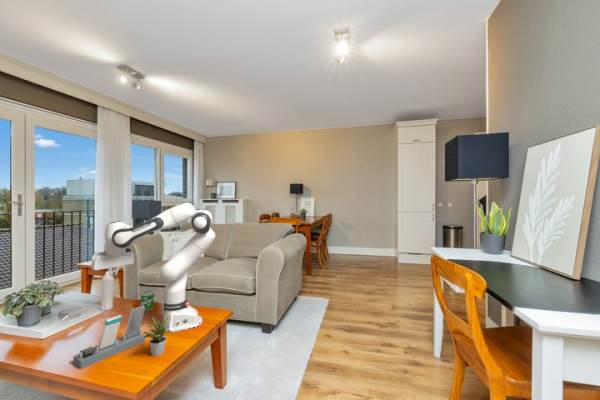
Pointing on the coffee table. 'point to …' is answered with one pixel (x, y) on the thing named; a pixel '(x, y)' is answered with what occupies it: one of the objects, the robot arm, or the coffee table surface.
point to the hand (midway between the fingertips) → (113, 275)
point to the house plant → (157, 337)
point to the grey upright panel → (134, 321)
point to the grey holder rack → (108, 350)
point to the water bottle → (107, 291)
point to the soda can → (147, 300)
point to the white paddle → (110, 331)
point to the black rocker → (88, 350)
